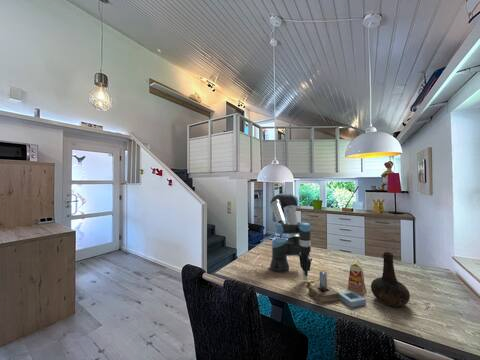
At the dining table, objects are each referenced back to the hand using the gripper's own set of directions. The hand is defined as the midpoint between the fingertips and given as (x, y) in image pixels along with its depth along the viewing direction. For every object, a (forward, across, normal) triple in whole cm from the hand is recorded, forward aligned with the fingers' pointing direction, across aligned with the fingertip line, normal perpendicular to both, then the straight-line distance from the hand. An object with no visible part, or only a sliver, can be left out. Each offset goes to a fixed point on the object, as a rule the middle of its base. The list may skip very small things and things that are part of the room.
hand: (305, 279), depth 142 cm
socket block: (+1, +19, 0) cm, 19 cm away
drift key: (+1, +10, 0) cm, 10 cm away
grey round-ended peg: (+1, +19, 0) cm, 19 cm away
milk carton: (+1, +19, +25) cm, 32 cm away
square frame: (+1, +28, +12) cm, 31 cm away
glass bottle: (+1, +35, +32) cm, 48 cm away
